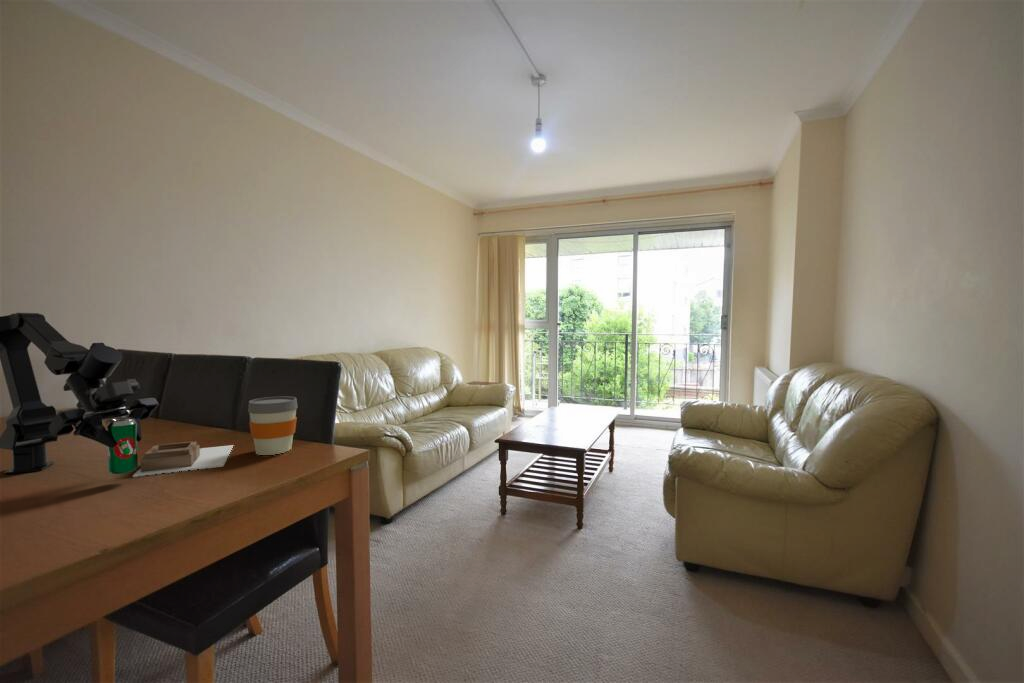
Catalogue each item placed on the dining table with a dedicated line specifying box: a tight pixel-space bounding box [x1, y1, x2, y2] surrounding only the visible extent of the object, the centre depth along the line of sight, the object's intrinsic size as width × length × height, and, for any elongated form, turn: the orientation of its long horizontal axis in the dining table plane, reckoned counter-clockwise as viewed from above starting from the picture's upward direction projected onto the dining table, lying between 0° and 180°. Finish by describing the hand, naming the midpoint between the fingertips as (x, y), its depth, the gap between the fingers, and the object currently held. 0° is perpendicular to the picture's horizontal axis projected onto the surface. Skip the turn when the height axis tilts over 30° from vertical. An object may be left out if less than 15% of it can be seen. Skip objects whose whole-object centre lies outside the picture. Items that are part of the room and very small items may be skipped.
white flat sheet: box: [132, 444, 235, 478], centre depth 114 cm, size 20×18×1 cm
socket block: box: [140, 440, 201, 472], centre depth 110 cm, size 10×10×5 cm
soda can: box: [106, 417, 139, 475], centre depth 97 cm, size 5×5×12 cm
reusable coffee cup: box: [247, 395, 298, 456], centre depth 122 cm, size 13×13×15 cm
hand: (126, 443), depth 97 cm, fingers closed on soda can, 5 cm apart
